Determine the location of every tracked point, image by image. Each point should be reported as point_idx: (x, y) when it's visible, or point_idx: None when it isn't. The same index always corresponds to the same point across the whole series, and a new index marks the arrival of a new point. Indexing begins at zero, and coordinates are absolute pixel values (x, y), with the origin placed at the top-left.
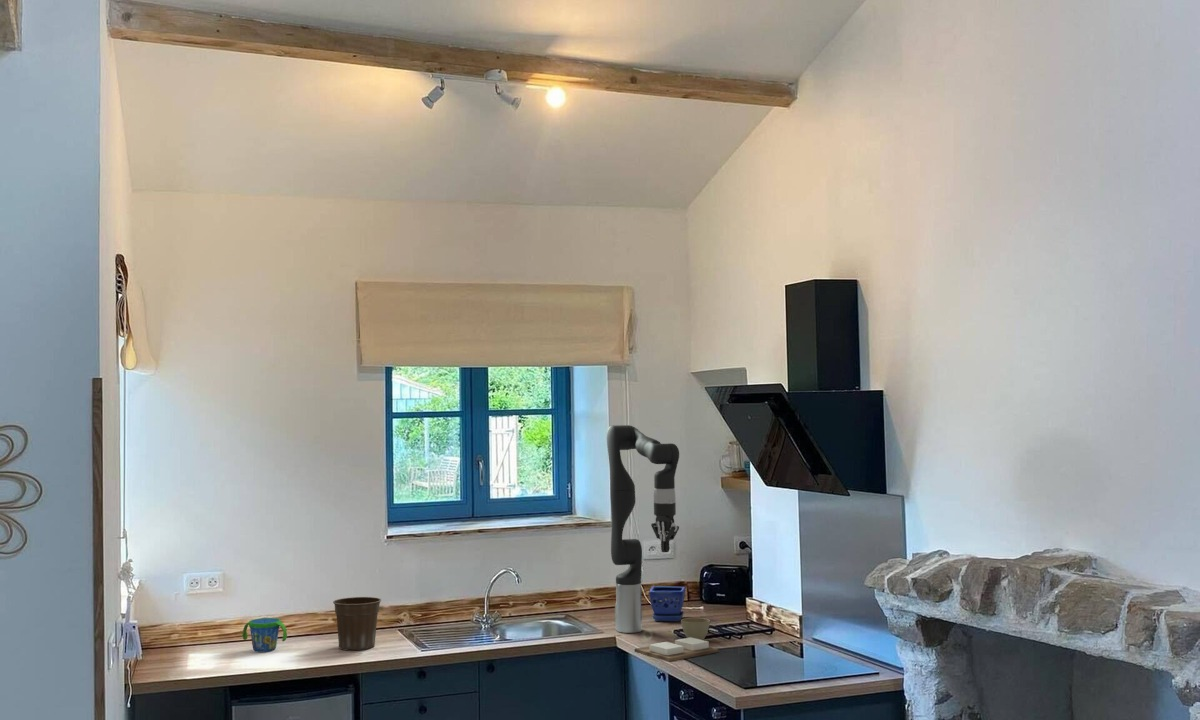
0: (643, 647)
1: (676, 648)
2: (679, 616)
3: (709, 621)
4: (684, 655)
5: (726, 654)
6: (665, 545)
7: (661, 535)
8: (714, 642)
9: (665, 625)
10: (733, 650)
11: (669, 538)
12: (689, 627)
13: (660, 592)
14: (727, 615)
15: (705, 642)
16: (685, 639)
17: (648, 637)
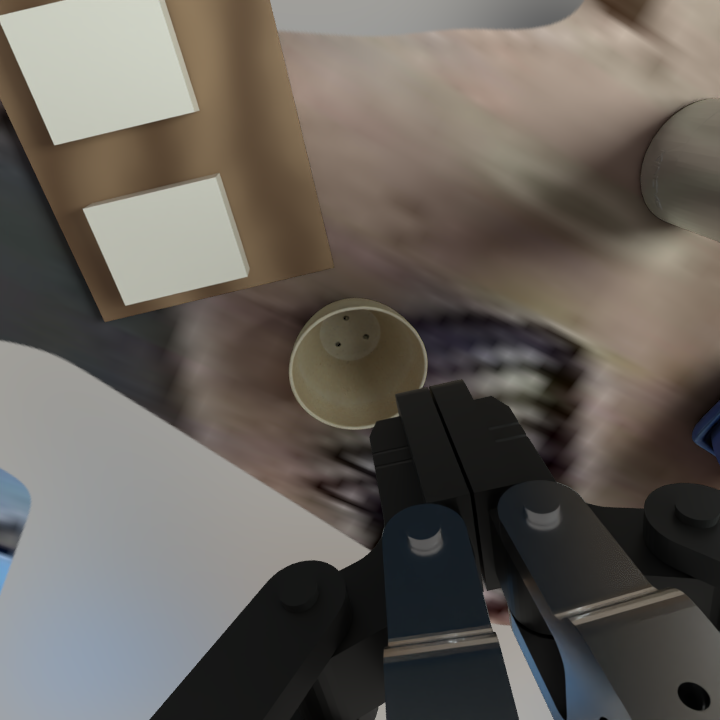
0: (263, 1)
1: (33, 93)
2: (698, 434)
3: (314, 416)
4: (10, 119)
5: (53, 327)
6: (397, 474)
7: (556, 591)
8: None
9: (674, 353)
10: (120, 381)
11: (250, 629)
12: (317, 313)
13: None
14: None
15: (117, 286)
16: (211, 231)
17: (521, 180)
